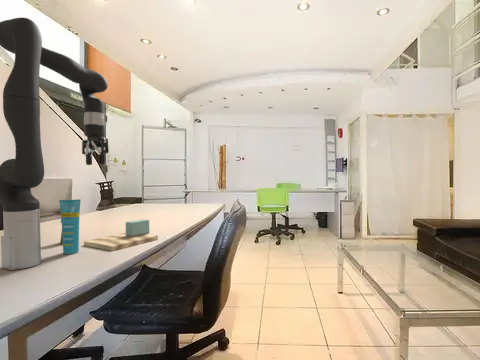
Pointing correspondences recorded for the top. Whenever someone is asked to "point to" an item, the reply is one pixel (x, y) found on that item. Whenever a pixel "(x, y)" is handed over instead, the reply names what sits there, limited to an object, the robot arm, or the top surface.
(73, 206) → the tube
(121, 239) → the board
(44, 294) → the top surface
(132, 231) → the block
